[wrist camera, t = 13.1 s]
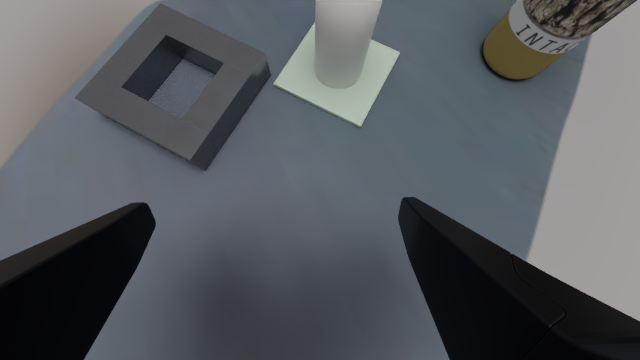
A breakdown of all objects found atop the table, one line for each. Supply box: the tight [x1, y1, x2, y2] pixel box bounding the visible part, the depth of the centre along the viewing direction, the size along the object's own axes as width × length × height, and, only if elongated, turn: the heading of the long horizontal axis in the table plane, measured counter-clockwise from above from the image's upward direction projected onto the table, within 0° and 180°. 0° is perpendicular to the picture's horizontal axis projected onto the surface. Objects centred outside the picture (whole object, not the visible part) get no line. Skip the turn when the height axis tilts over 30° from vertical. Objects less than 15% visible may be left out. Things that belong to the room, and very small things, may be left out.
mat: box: [274, 23, 400, 128], centre depth 26 cm, size 10×10×1 cm
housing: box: [75, 4, 271, 171], centre depth 23 cm, size 12×12×3 cm
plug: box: [314, 0, 383, 88], centre depth 19 cm, size 5×5×13 cm
